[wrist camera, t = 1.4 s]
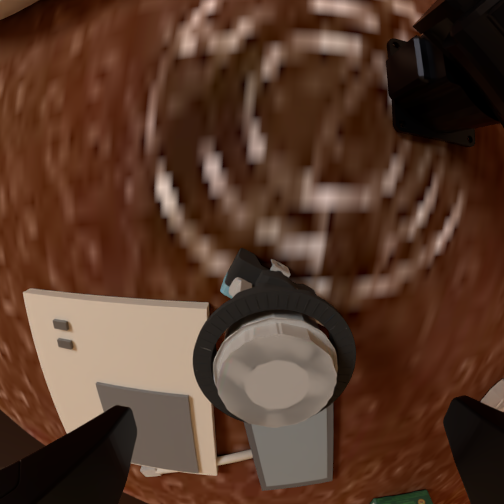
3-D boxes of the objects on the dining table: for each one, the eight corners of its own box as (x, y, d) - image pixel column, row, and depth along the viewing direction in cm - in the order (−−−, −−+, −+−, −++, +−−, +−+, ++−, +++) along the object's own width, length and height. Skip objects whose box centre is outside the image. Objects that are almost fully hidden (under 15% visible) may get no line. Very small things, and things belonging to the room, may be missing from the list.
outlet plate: (209, 302, 18) (205, 310, 17) (218, 467, 22) (216, 478, 20) (30, 288, 19) (20, 293, 17) (77, 441, 22) (72, 449, 21)
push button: (345, 275, 18) (424, 361, 8) (300, 345, 19) (331, 465, 9) (247, 222, 17) (238, 267, 8) (206, 300, 18) (162, 407, 9)
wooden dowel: (277, 438, 21) (278, 445, 20) (282, 445, 21) (282, 452, 20) (141, 465, 22) (139, 471, 21) (147, 471, 22) (146, 477, 22)
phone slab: (330, 375, 20) (333, 382, 19) (331, 474, 22) (332, 481, 21) (238, 388, 20) (237, 396, 19) (262, 484, 22) (262, 491, 21)
